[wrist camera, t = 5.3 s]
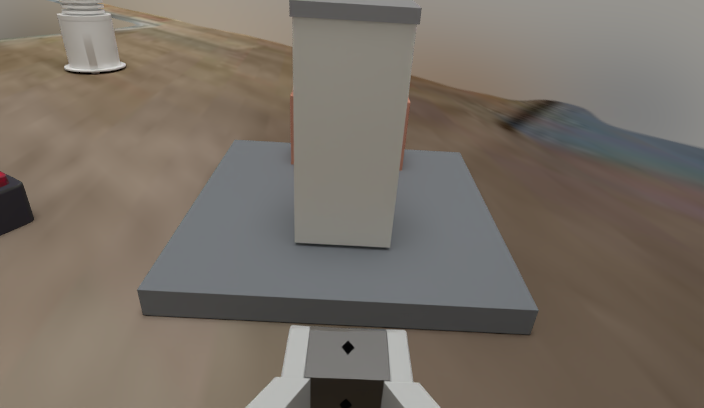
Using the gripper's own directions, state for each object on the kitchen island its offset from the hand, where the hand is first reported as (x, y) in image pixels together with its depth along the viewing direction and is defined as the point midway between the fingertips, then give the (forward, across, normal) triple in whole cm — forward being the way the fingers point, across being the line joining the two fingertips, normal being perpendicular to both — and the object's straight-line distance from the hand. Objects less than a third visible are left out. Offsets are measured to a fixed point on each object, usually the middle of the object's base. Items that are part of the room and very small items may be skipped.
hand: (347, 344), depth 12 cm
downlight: (+50, +33, +6) cm, 61 cm away
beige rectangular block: (+13, 0, +4) cm, 14 cm away
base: (+16, 0, +6) cm, 17 cm away
